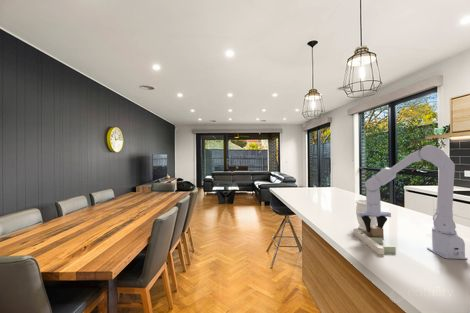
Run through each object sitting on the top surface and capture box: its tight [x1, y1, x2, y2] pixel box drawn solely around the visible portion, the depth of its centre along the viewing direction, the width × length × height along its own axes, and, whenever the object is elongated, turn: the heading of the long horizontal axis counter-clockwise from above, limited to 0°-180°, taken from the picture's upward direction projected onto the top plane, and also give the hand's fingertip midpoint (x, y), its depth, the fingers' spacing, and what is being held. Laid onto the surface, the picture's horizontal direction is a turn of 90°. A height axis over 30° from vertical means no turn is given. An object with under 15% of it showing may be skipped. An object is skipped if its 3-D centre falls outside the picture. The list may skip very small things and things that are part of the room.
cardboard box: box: [366, 225, 385, 241], centre depth 104 cm, size 6×4×5 cm
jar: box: [355, 199, 377, 230], centre depth 119 cm, size 11×10×15 cm
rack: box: [352, 228, 397, 256], centre depth 100 cm, size 24×8×3 cm, turn 174°
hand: (374, 231), depth 104 cm, fingers closed on cardboard box, 4 cm apart
